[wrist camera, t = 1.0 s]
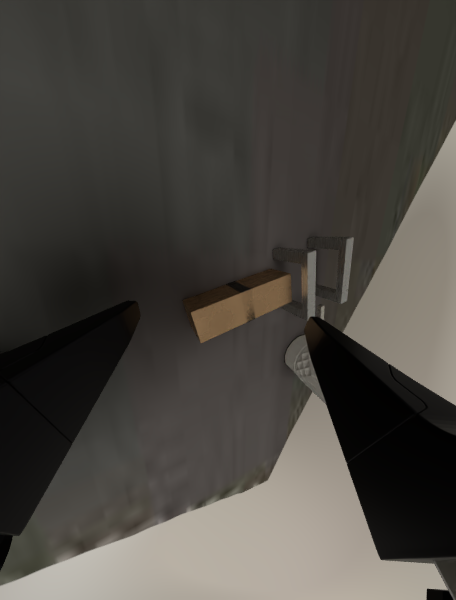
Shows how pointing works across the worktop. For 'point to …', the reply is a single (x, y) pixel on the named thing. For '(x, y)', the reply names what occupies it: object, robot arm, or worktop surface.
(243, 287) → the taped cardboard box
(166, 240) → the worktop surface
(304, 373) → the white cup
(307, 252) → the gray bracket rail
